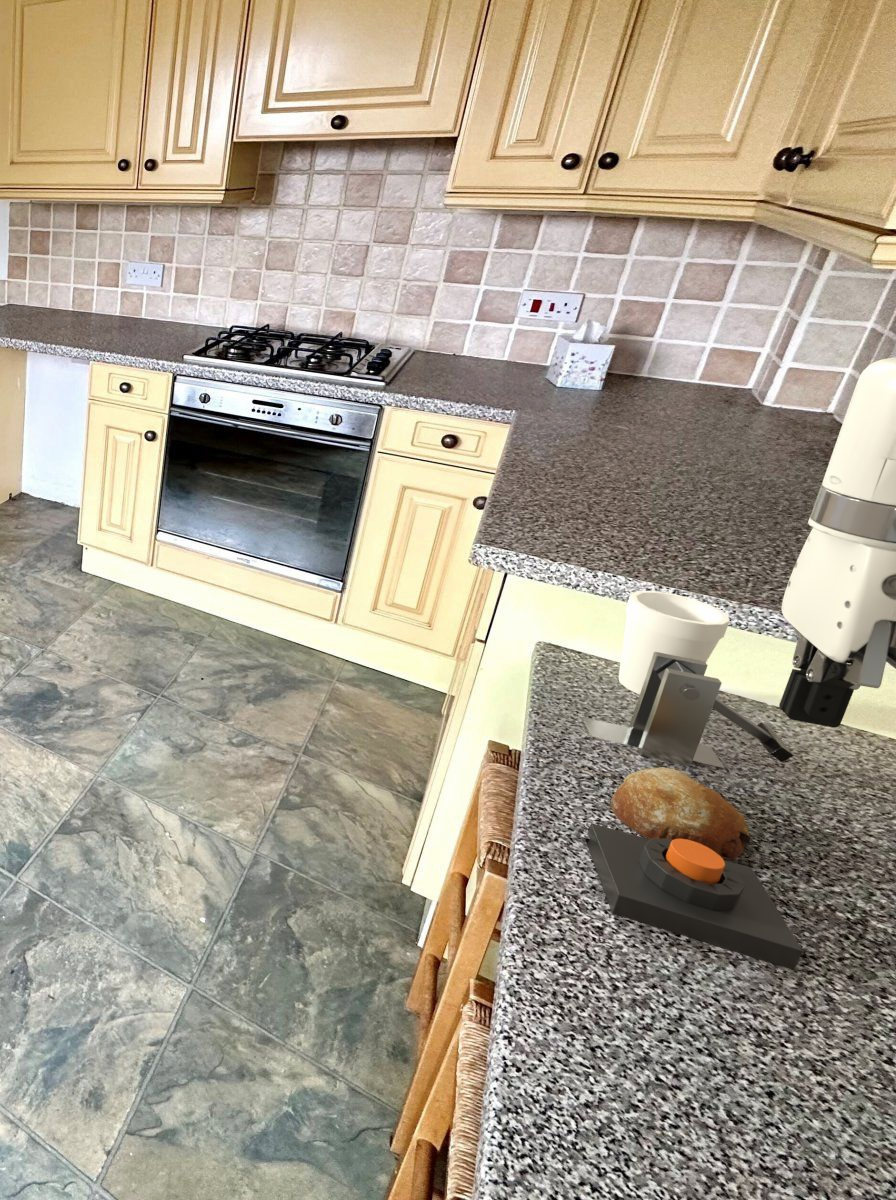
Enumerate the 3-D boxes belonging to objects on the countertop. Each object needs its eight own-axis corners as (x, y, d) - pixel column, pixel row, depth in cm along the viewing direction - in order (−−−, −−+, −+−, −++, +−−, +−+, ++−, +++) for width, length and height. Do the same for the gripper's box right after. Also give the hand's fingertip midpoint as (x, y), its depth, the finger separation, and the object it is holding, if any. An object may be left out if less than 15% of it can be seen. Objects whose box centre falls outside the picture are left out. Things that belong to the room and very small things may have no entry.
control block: (744, 885, 73) (758, 852, 72) (794, 971, 64) (811, 934, 63) (584, 840, 78) (595, 808, 77) (611, 913, 70) (624, 878, 68)
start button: (710, 862, 71) (716, 847, 70) (726, 890, 68) (732, 874, 67) (659, 848, 73) (665, 833, 72) (672, 874, 69) (678, 859, 69)
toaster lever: (756, 739, 87) (777, 727, 86) (777, 765, 82) (799, 752, 81) (652, 668, 89) (672, 655, 88) (667, 689, 85) (687, 676, 84)
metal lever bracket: (706, 756, 91) (742, 661, 87) (737, 804, 83) (779, 702, 79) (579, 726, 96) (607, 635, 92) (597, 769, 89) (629, 671, 85)
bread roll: (626, 817, 86) (604, 749, 86) (757, 830, 79) (733, 754, 79) (615, 866, 80) (592, 791, 80) (757, 884, 72) (731, 802, 72)
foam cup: (601, 667, 109) (627, 584, 105) (689, 689, 104) (720, 603, 100) (606, 698, 102) (635, 610, 98) (702, 724, 97) (736, 632, 93)
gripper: (1027, 560, 53) (926, 785, 58) (896, 496, 65) (823, 685, 71) (870, 543, 56) (789, 757, 61) (774, 484, 68) (714, 666, 74)
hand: (807, 718), depth 66 cm, fingers closed
